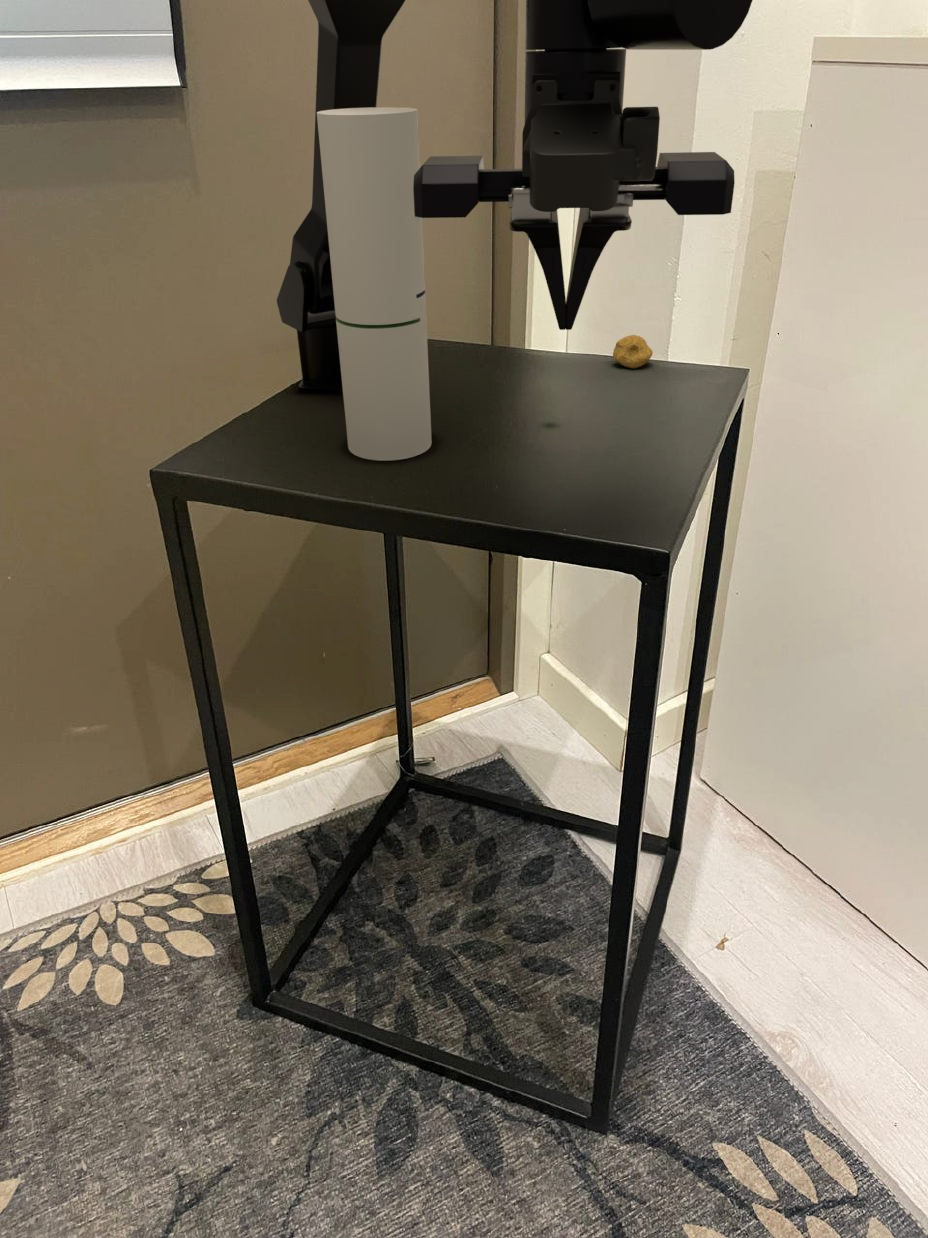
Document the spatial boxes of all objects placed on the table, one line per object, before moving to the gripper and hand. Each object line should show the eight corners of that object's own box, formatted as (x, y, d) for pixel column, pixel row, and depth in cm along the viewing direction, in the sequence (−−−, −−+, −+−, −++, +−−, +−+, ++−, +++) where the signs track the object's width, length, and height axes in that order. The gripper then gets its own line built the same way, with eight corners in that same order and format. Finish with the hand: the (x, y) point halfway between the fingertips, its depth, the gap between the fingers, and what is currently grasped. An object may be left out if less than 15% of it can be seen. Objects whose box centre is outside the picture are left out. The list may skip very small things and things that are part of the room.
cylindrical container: (443, 433, 80) (432, 106, 67) (413, 464, 75) (394, 114, 61) (368, 425, 82) (343, 106, 69) (333, 455, 77) (298, 114, 63)
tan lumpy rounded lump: (606, 364, 96) (608, 337, 94) (634, 357, 98) (636, 330, 96) (630, 372, 93) (633, 344, 92) (658, 364, 95) (661, 337, 94)
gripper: (393, 57, 46) (409, 365, 55) (772, 48, 45) (729, 366, 53) (418, 52, 55) (429, 316, 64) (733, 45, 54) (702, 315, 63)
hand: (565, 328), depth 61 cm, fingers closed
